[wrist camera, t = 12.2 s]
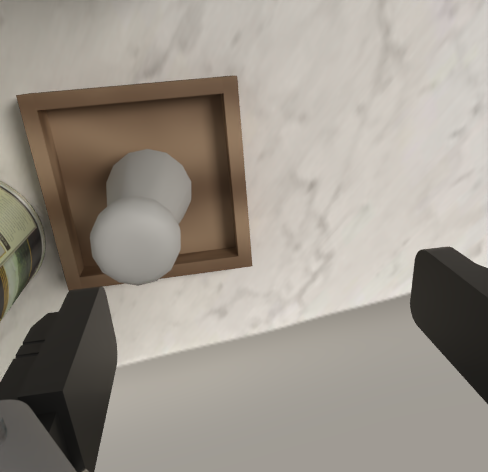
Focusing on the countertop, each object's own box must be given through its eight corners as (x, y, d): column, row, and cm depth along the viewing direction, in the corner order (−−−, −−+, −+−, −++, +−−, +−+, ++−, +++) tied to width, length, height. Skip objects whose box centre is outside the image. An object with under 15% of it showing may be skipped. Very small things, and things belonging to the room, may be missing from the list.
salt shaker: (198, 154, 31) (210, 205, 19) (182, 225, 33) (185, 313, 21) (117, 135, 30) (76, 178, 18) (106, 211, 32) (61, 296, 20)
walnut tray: (29, 93, 29) (16, 95, 26) (232, 75, 30) (237, 76, 28) (76, 276, 34) (68, 290, 31) (247, 253, 35) (252, 266, 33)
